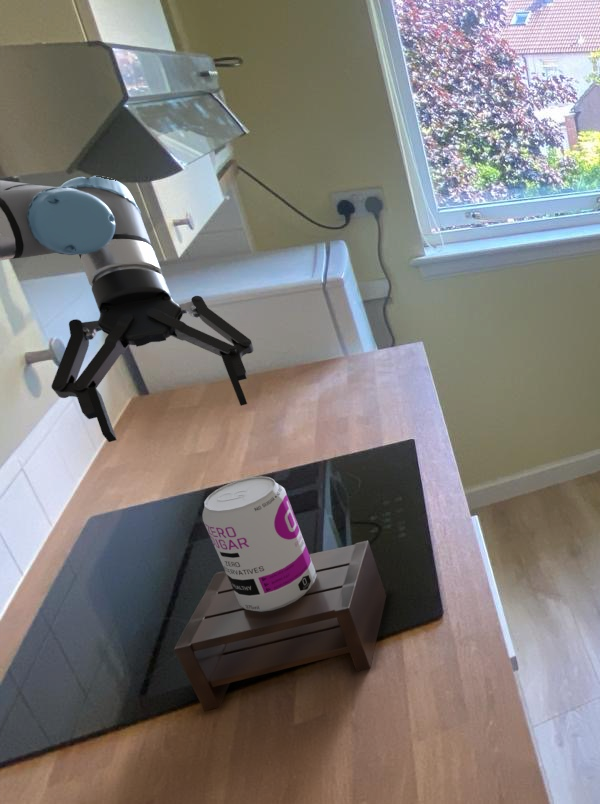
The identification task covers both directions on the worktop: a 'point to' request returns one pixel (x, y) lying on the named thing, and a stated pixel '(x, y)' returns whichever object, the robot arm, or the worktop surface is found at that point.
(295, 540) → the white drink can
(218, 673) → the rack
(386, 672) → the worktop surface
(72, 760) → the worktop surface
